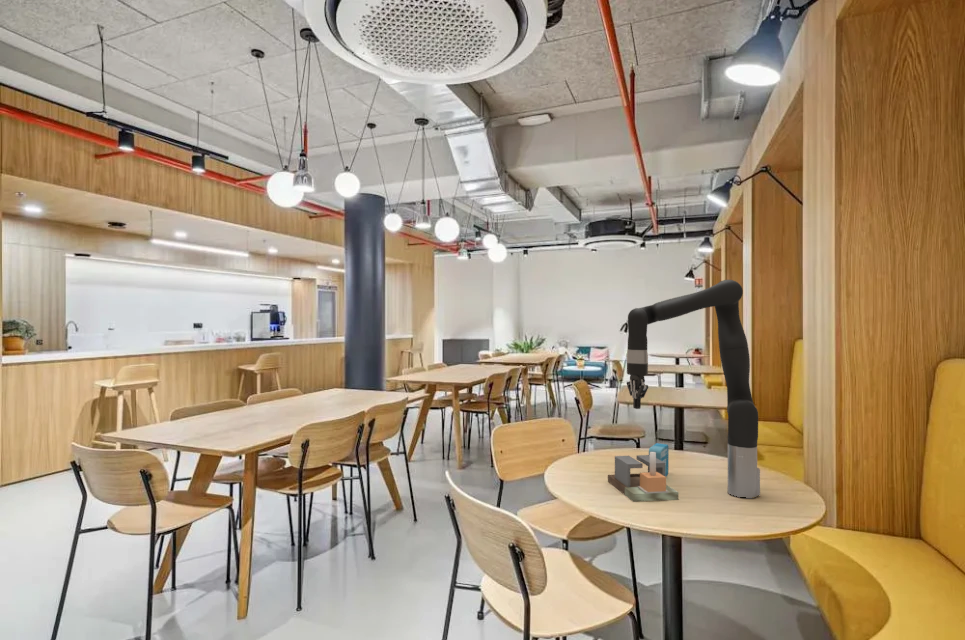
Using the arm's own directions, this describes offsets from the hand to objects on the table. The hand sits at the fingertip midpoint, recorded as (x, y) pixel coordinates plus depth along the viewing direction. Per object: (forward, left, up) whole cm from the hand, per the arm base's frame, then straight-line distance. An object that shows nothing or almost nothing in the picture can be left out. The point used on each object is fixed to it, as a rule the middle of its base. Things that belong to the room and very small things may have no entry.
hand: (636, 408), depth 186 cm
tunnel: (+1, +5, -25) cm, 26 cm away
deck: (+1, +7, -28) cm, 29 cm away
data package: (-13, -7, -28) cm, 32 cm away
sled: (+1, +15, -25) cm, 30 cm away
